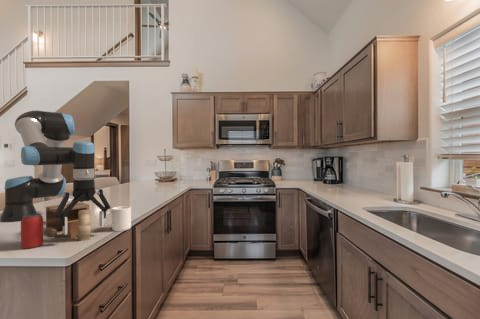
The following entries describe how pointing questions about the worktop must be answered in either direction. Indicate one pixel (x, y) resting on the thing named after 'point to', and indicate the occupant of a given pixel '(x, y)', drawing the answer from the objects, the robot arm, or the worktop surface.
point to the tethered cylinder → (80, 226)
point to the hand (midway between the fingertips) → (84, 229)
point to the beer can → (31, 231)
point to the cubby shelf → (54, 222)
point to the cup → (120, 218)
